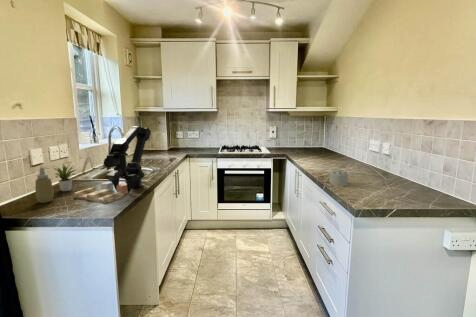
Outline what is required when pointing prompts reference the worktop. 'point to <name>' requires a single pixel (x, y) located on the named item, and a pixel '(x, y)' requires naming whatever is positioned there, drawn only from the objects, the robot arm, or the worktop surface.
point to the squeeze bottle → (44, 187)
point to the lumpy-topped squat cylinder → (338, 178)
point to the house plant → (65, 178)
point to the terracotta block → (122, 188)
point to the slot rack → (98, 195)
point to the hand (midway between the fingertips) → (122, 191)
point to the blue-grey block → (107, 186)
